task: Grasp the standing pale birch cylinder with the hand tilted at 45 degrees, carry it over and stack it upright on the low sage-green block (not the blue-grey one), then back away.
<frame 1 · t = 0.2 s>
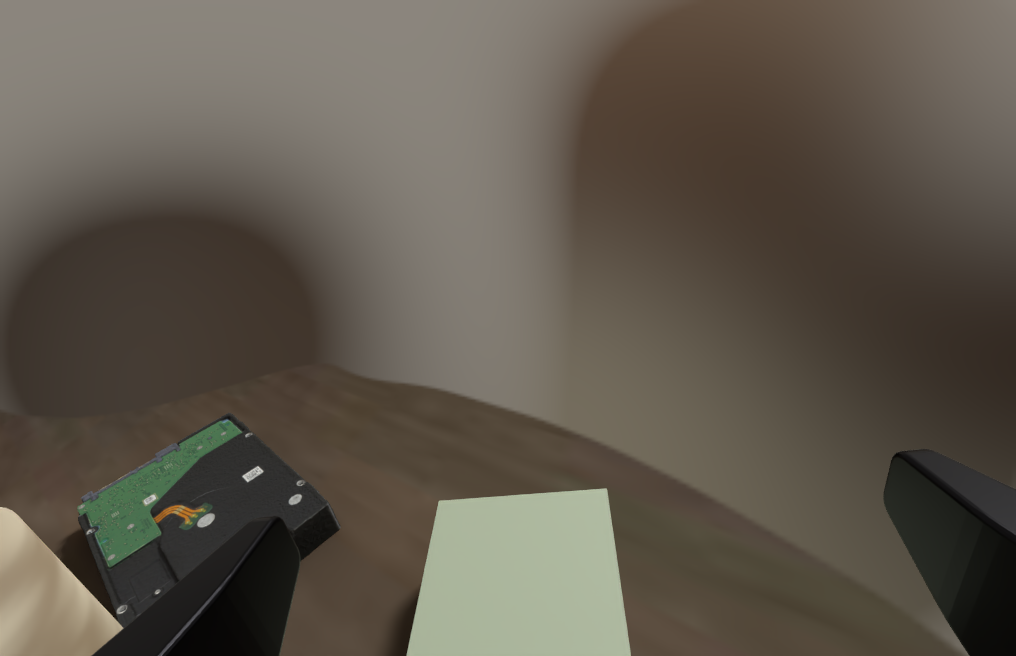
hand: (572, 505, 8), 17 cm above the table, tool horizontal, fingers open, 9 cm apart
sage block: (531, 628, 23), on the table
disk drive: (214, 533, 32), on the table
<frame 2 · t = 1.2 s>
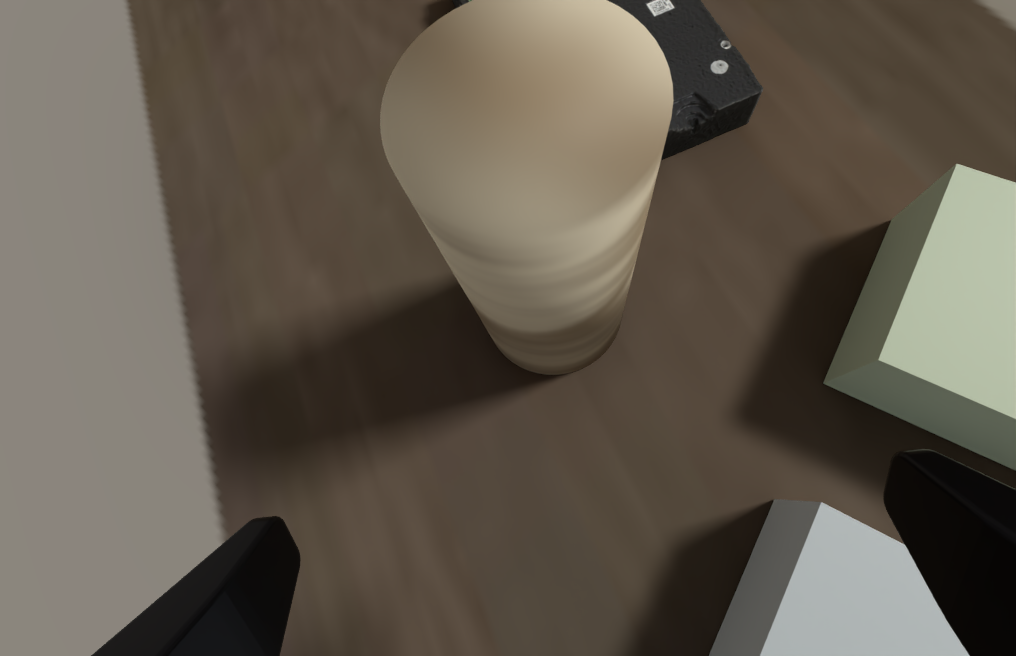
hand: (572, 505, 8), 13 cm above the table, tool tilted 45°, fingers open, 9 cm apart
birch cylinder: (552, 308, 23), on the table
sage block: (964, 341, 20), on the table
disk drive: (586, 64, 27), on the table
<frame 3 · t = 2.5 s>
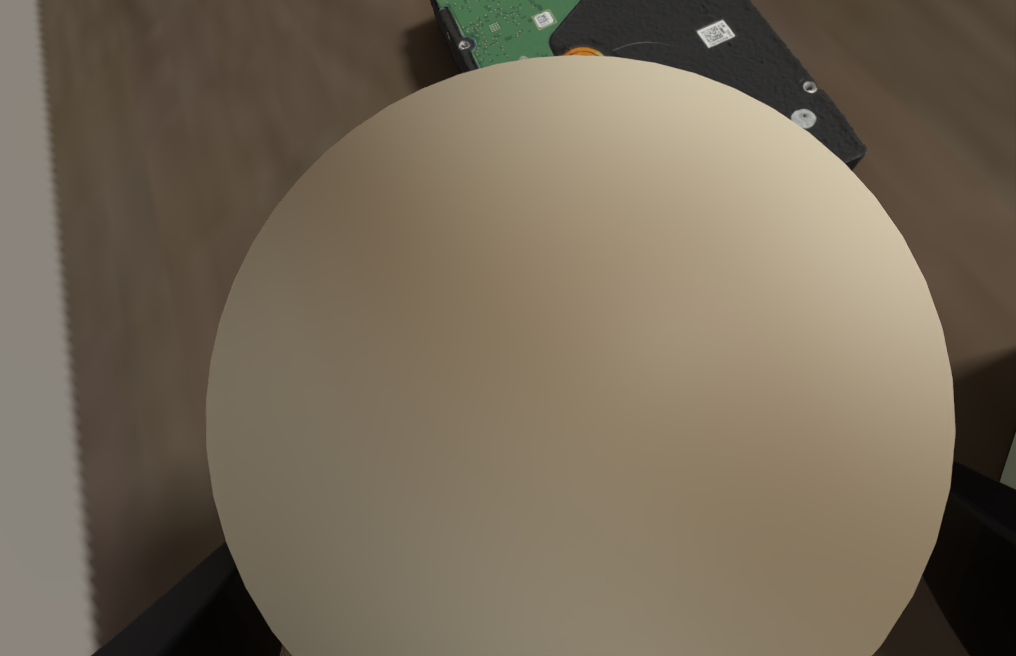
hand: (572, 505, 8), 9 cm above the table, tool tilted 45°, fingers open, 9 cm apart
birch cylinder: (571, 453, 17), on the table
disk drive: (613, 107, 21), on the table
when the fingers open (11 cm above the table, at t = 7.0 s): birch cylinder stays where it is, resting on sage block.
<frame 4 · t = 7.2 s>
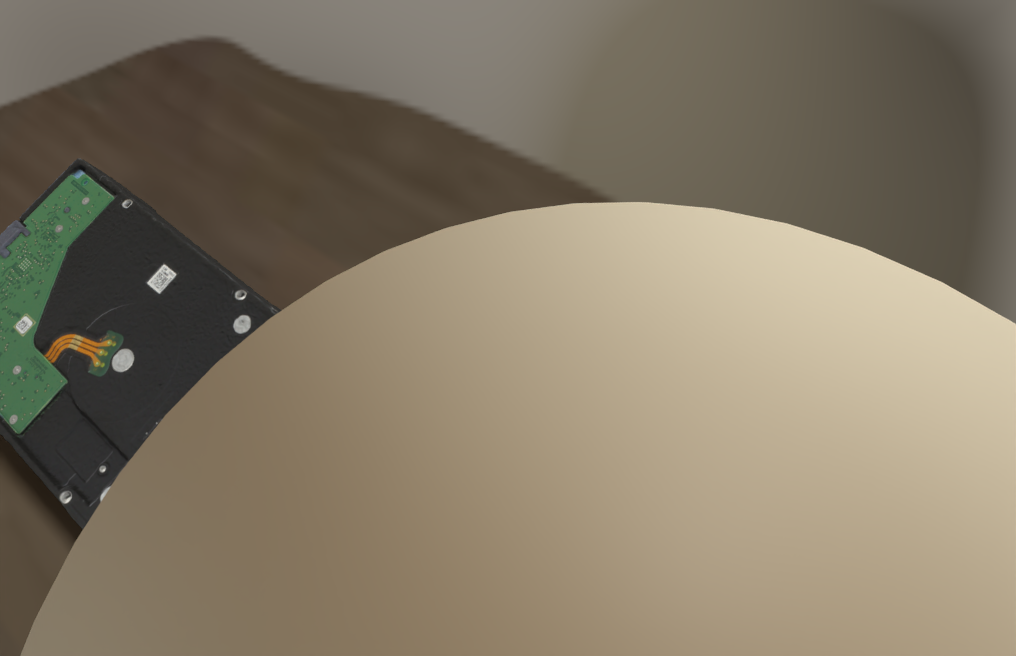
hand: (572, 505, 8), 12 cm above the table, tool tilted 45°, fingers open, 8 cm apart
birch cylinder: (582, 549, 14), point 4 cm above the table, touching sage block
disk drive: (145, 346, 24), on the table
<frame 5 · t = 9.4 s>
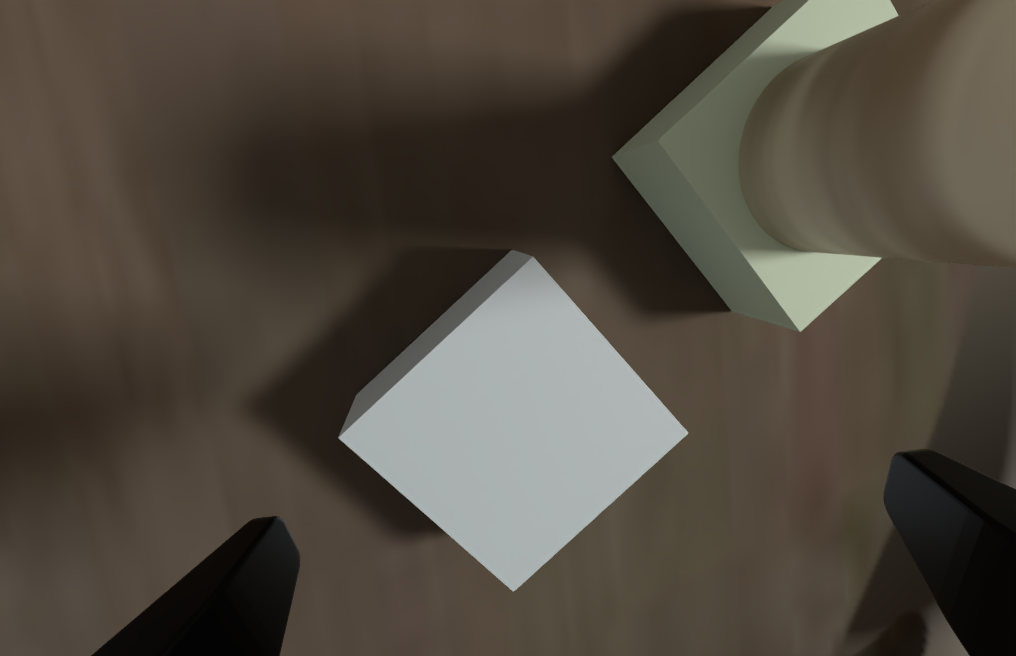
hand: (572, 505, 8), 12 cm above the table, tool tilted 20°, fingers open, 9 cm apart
birch cylinder: (828, 155, 16), point 4 cm above the table, touching sage block
sage block: (751, 167, 20), on the table
blue-grey block: (504, 394, 20), on the table
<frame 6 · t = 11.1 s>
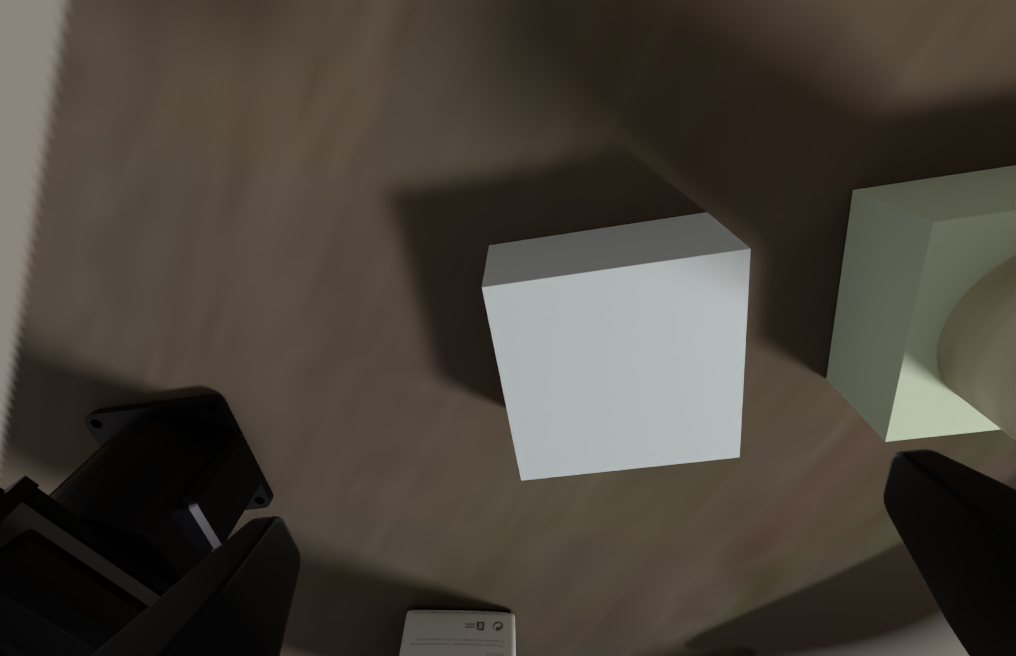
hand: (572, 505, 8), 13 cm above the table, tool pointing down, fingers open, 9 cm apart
sage block: (948, 278, 20), on the table
skincare box: (466, 646, 32), on the table
blue-grey block: (604, 324, 21), on the table
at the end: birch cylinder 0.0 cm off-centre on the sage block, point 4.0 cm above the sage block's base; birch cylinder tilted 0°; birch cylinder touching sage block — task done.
